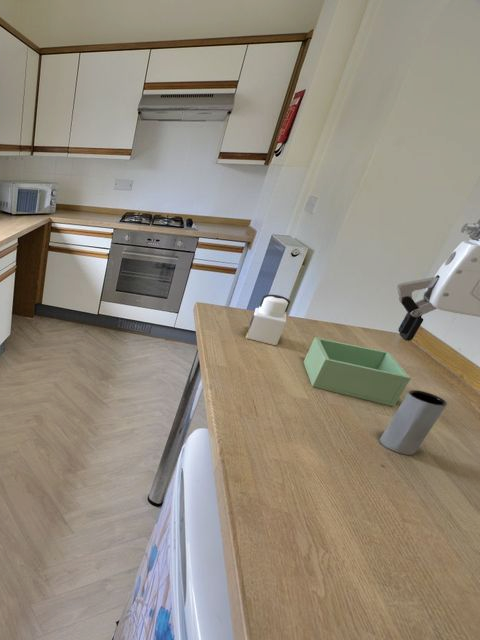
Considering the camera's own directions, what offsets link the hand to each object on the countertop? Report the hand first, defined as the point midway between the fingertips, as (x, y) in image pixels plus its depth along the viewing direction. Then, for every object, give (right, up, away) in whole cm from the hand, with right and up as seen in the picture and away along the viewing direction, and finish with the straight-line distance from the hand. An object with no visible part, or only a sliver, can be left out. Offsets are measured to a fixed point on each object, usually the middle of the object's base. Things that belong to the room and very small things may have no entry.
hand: (445, 345), depth 65 cm
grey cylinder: (0, -18, +7) cm, 19 cm away
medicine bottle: (+5, +1, +48) cm, 48 cm away
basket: (+9, -9, +27) cm, 30 cm away
